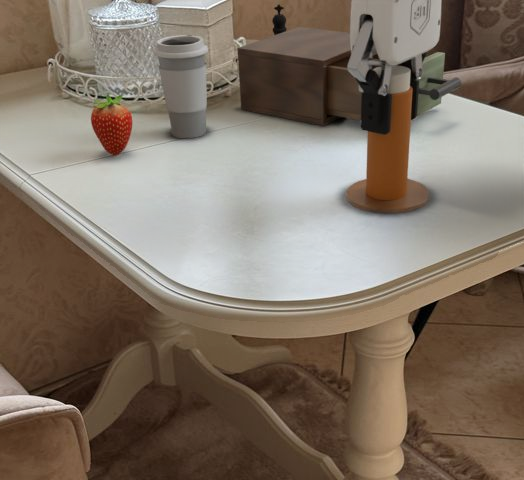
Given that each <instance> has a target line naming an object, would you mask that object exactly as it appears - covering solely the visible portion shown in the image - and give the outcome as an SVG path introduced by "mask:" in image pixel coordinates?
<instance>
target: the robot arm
mask: <svg viewBox="0 0 524 480" xmlns="http://www.w3.org/2000/svg"><path fill="white" fill-rule="evenodd" d="M350 3H351V4H350V21H349V24H350V25H349V26H350V27H349V33H350V46H351V53H352V54H351V57H350V59H349V62H348V65H347V69H348V71H349V72H350V73H351V74H352V75H353V76H354V77H355V79H356V81H357V82H358V84H359V91H360V92H362V97H361V121H360V129H361V130H362V131H364V132H368V131H369V132H373V133H378V134H383V135H386V134H388V133H389V132H390V126H391V106H392V94H389V93H388V89H389V83H390V77H391V71H392V65H395V66H404V67H407V68H409V69H410V70H411V73H410V86H411V87H412V88H413V91H412V108H411V121H413V120H415V119H417V117H418V116H417V109H418V94H419V81H418V80H416V79H420V78H421V76H422V72H423V70H422V63H423V61H424V59H425V57H427V52H429V51H431V50H432V49H434V48H435V47H436V46H437V44H438V42H439V41H440V35H441V24H442V23H441V21H442V0H351V2H350ZM376 54H378V57H379V59H380V60H378V59H372V57H373V55H376ZM372 66H377V67H381V72H380V78H379V76H378V75H377V73H376V72H375V70H372Z"/></svg>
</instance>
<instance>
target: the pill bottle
mask: <svg viewBox="0 0 524 480" xmlns="http://www.w3.org/2000/svg"><path fill="white" fill-rule="evenodd" d="M373 70H375V72H376V73H377V75H378V76H379V78H380V72H381V67H377V68H375V69H373ZM410 73H411V70H410V69H409V68H407V67H404V66H395V65H392V71H391V77H390V83H389V89H388V93H389V94H392V106H391V126H390V132H389V133H388V134H386V135H383V134H378V133H373V132H369V131H367V134H366V135H367V136H366V137H367V138H366V140H367V141H366V142H367V143H366V173H365V174H366V175H365V179H366V194H367V195H368V196H370V197H372V198H374V199H379V200H394V199H399V198H401V197H403V196H405V195H406V193H407V179H408V173H409V159H410V140H411V138H410V137H411V123H412V120H411V108H412V91H413V88H412V87H411V86H410Z"/></svg>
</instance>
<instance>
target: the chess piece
mask: <svg viewBox="0 0 524 480" xmlns="http://www.w3.org/2000/svg"><path fill="white" fill-rule="evenodd" d="M273 9H274V10H275V11H276V12H277V14H274V15H273V17H272V19H271V21H272V24H273V28H272V32H273V36H274V35H277V34H280V33H283V32H286V31H288V30H287V29H288V28H287V27H286V24H287V17H286V16H285V15H284V14H282V13H281V11H282V10H284V9H285V7H283V6H281V4H277V5H276V6H275V7H274V8H273Z"/></svg>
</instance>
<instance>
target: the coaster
mask: <svg viewBox="0 0 524 480" xmlns="http://www.w3.org/2000/svg"><path fill="white" fill-rule="evenodd" d="M345 195H346V200H347V202H348V203H349V204H350V205H352V206H353V207H355V208H357V209H359V210H362V211H365V212H370V213H375V214H401V213H402V214H403V213H408V212H411V211H416V210H418V209H421V208H422V207H424V206H426V205H427V203H428V202H429V200H430V196H431V192H430V189H429V188H428V187H427V185H424V184H423V183H421V182H419V181H416V180H414V179H410V178H407V193H406V195H405V196H403V197H401V198H399V199H394V200H379V199H374V198H372V197H370V196H368V195H367V194H366V178H364V179H362V180H358V181H356V182H354V183H351V185H350V186H348V188H347V190H346V194H345Z"/></svg>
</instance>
